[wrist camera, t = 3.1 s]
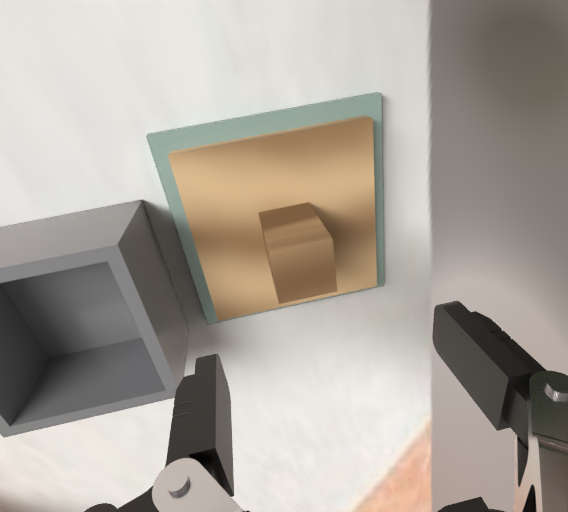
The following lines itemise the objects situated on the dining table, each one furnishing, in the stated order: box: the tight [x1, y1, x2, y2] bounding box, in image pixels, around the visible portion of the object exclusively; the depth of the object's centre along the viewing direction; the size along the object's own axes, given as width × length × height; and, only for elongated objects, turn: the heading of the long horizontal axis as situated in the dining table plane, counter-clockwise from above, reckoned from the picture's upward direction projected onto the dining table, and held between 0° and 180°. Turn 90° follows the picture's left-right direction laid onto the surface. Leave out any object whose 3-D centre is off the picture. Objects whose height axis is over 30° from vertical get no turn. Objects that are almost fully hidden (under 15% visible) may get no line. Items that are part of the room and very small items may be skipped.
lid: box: [168, 115, 377, 321], centre depth 20 cm, size 11×11×6 cm
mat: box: [146, 92, 384, 324], centre depth 23 cm, size 13×13×1 cm
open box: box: [0, 200, 189, 437], centre depth 21 cm, size 10×10×6 cm
